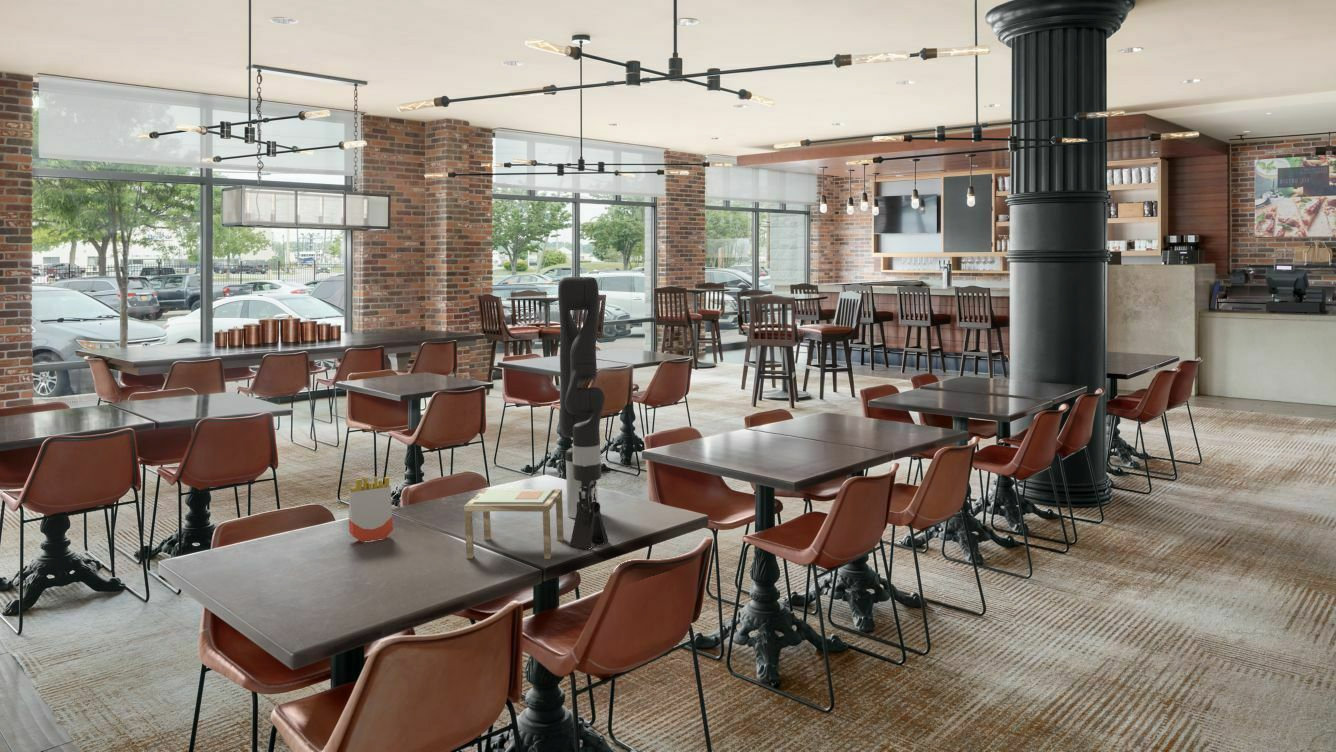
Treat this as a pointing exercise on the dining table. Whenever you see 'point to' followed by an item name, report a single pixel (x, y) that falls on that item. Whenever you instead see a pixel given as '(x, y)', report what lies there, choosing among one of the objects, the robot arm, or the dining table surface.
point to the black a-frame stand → (589, 529)
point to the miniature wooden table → (486, 509)
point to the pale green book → (514, 496)
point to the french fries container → (370, 510)
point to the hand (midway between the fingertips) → (588, 522)
